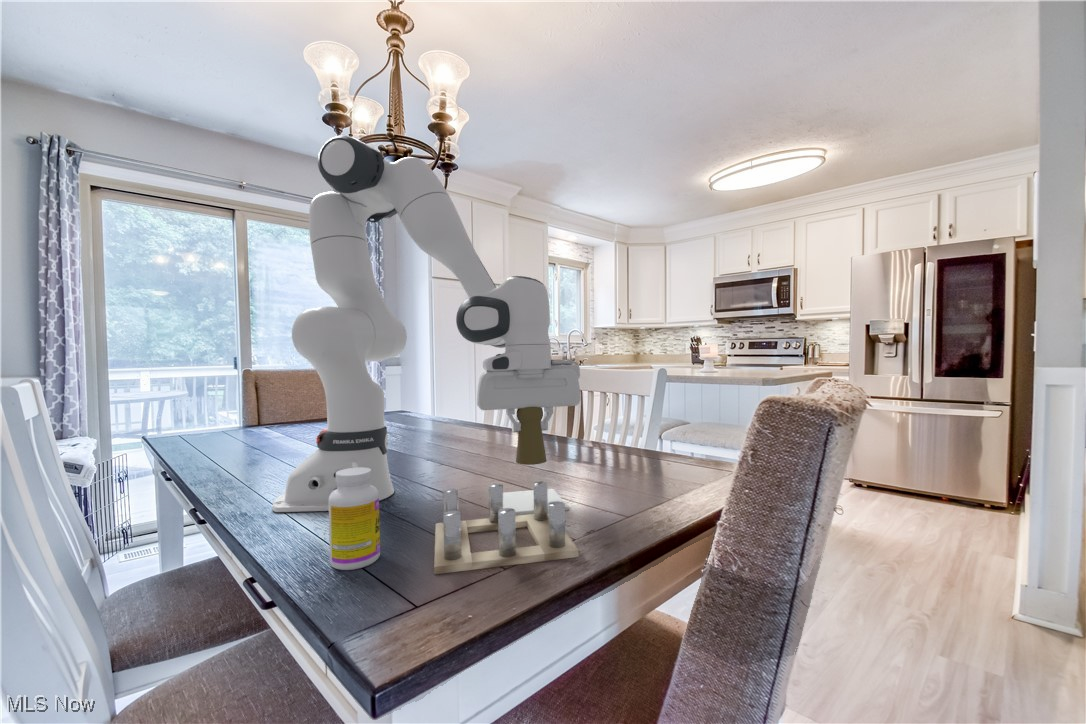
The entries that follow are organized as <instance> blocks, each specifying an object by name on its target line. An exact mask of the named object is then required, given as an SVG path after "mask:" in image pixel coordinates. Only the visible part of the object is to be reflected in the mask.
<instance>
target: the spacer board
mask: <svg viewBox="0 0 1086 724" xmlns="http://www.w3.org/2000/svg"><path fill="white" fill-rule="evenodd" d="M515 527H516V529H518V528H519V529H520V528H521V529H522V528H527V529H528V531H529V534H530V535H531V538H532V539H533V541H534V543H535V545H529V546H521V547H516V554H515V555H514V556H512V557H501V556H500V555H499V549H494V550H485V551H476V552H472V551H471V546H470V545H471V544H470V540H469V539H470V537H469V534H472V533H480V532H481V533H482V532H490V531H491V532H493V531H498V523H490V522H489V517H488V518H476V519H470V520H469V519H467V520H461V545H462V557H461V558H459V559H457V560H446V559H444V525H443V522H437V523H435V527H434V529H435V531H434V532H435V533H434V558H433V559H434V560H433V561H434V565H433V567H434V570H433V571H434V572H433V573H434V575H439V574H440V575H441V574H448V573H457V572H465V571H473V570H482V569H489V568H491V569H492V568H497V567H508V566H515V565H523V564H532V563H539V562H548V561H557V560H565V559H572V558H573V559H574V558H579V556H580V555H579V554H580V551H579V548H578V547H577V545H576V543H574V541H573V540H572V538H571V537H570V536H569V535H568V533H567V532H566V531H565V546H564V547H562V548H552V547H550V546H549V514H548V519H547V520H545V521H536V520H534V513H533V514H523V515H515Z"/></svg>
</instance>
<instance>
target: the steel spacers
mask: <svg viewBox="0 0 1086 724" xmlns="http://www.w3.org/2000/svg"><path fill="white" fill-rule="evenodd" d="M503 485H504V484H502V483H499V482H498V483H490V484H488V518H489V522H490V523H498V530H497V532H498V550H499V555H500V556H501V557H512V556H514V555H515V554H516V548H517V537H516V536H517V535H516V530H517V528H516V527H515V516H516V515H515V510H514V509H511V508H504V509H503V493H504V490H503V489H504V486H503ZM532 488H533V489H532V490H533V496H534V513H533V514H534V520H536V521H545V520H547V519H548V514H549V546H550V547H552V548H562V547H564V546H565V532H566V516H565V515H566V510H565V503H566V502H565V503H563V502H559V501H554V502H550V503H549V504H548V492H547V489H548V482H546V481H535V482H533V483H532ZM442 510H443V511H442V512H443V515H442V516H443V517H442V519H443V520H442V521H443V522H442V523H443V525H444V559H446V560H457V559H459V558H461V557H462V545H461V521H462V512H461V511H459V490H458V489H457V488H447V489H443V490H442Z"/></svg>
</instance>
